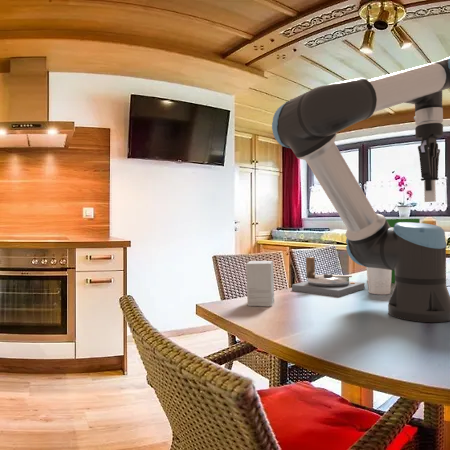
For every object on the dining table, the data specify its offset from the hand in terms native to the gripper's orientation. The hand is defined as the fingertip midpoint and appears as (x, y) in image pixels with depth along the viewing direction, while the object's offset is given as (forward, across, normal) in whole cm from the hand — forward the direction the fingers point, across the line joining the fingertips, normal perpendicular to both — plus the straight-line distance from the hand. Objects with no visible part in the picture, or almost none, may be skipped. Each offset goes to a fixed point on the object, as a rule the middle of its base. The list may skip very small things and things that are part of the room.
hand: (430, 201), depth 120 cm
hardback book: (+30, -21, -20) cm, 41 cm away
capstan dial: (+27, +8, -31) cm, 42 cm away
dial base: (+29, +8, -31) cm, 43 cm away
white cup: (+30, +3, -15) cm, 33 cm away
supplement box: (+30, +40, -35) cm, 61 cm away
